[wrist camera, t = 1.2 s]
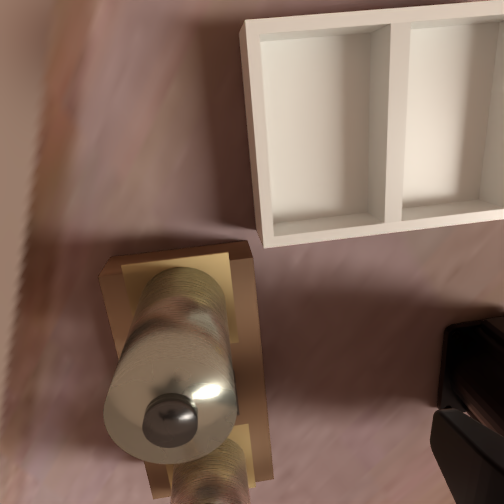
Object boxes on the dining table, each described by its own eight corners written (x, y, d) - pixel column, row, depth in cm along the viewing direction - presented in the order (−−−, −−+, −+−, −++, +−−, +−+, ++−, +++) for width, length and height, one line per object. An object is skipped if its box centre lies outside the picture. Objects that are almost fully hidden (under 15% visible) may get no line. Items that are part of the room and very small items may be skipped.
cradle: (267, 449, 25) (277, 499, 22) (159, 467, 25) (152, 521, 22) (246, 233, 20) (255, 257, 17) (108, 249, 20) (89, 277, 16)
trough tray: (476, 204, 21) (514, 217, 19) (256, 230, 20) (263, 248, 18) (499, 12, 18) (549, -5, 15) (238, 33, 17) (244, 19, 14)
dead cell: (230, 336, 19) (244, 466, 12) (148, 347, 19) (115, 487, 12) (220, 261, 18) (231, 360, 11) (131, 272, 18) (84, 381, 11)
